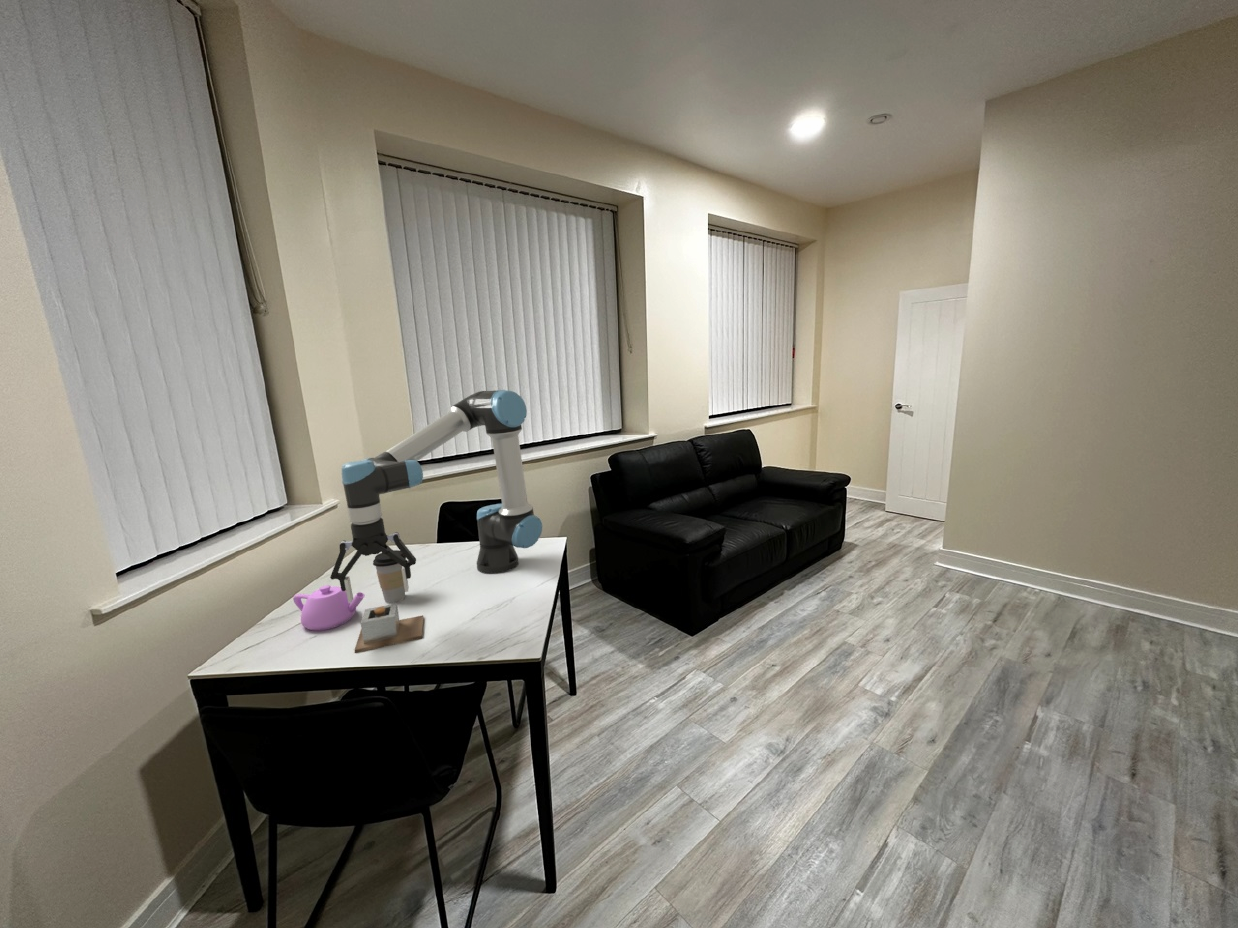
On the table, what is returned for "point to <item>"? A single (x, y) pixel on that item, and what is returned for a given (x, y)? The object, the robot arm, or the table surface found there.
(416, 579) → the table surface
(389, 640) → the keeper
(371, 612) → the hollow square block
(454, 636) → the table surface
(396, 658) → the table surface
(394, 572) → the coffee cup
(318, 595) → the teapot
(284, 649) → the table surface
